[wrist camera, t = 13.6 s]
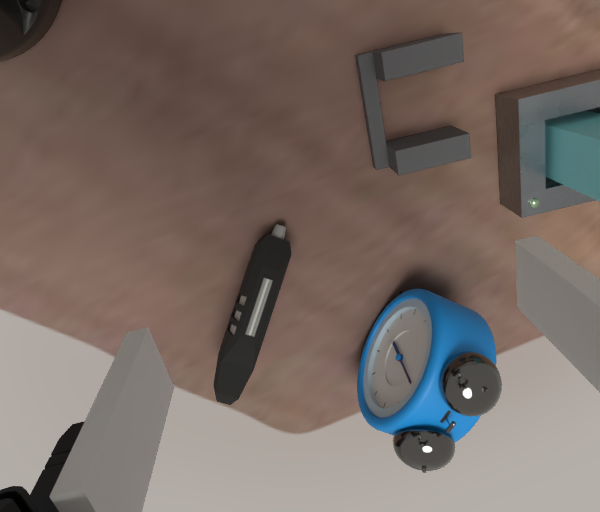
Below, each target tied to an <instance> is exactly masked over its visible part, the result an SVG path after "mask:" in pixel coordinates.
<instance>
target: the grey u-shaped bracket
mask: <svg viewBox="0 0 600 512" xmlns="http://www.w3.org/2000/svg"><path fill="white" fill-rule="evenodd" d="M356 61H357V68H358V74H359V80H360V86H361V92H362V98H363V105H364V111H365V117H366V123H367V129H368V135H369V142H370V148H371V154H372V160H373V166H374V168H375V169H376V170H378V169H382V168H386V167H390V168H391V169H393V170H394V171H395V172H396V173H397V174H398V175H402V174H406V173H410V172H415V171H419V170H423V169H427V168H431V167H435V166H439V165H444V164H448V163H452V162H456V161H460V160H464V159H469V158H471V150H470V136H469V133H467V132H465V131H462V130H460V129H458V128H455V127H453V126H447V127H443V128H439V129H435V130H431V131H427V132H423V133H418V134H414V135H410V136H406V137H402V138H398V139H394V140H390V141H386V139H385V132H384V125H383V119H382V112H381V105H380V98H379V92H378V85H377V79H380V80H384V81H387V80H391V79H395V78H399V77H403V76H407V75H412V74H416V73H420V72H424V71H428V70H432V69H436V68H440V67H444V66H448V65H452V64H456V63H460V62H464V53H463V39H462V33H448V34H440V35H436V36H432V37H428V38H424V39H420V40H416V41H412V42H408V43H404V44H400V45H396V46H392V47H388V48H384V49H380V50H376V51H372V52H368V53H364V54H359V55H356Z"/></svg>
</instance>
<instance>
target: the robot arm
mask: <svg viewBox="0 0 600 512" xmlns="http://www.w3.org/2000/svg"><path fill="white" fill-rule="evenodd" d="M60 2H61V0H0V61H3V60H7V59H10V58H13V57H15V56H17V55H19V54H21V53H23V52H25V51H26V50H28V49H29V48H31V47H32V46H33V45H35V44H36V43H37V42H38V41H39V40H40V39H41V38H42V37H43V35H44V34H45V33H46V32H47V30H48V29H49V27H50V26H51V24H52V22H53V20H54V18H55V16H56V14H57V11H58V9H59V6H60ZM515 254H516V282H517V308H518V309H519V310H520V311H521V312H522V313H523V314H524V315H525V316H526V317H527V318H528V319H529V320H530V321H531V322H532V323H533V324H534V325H535V326H536V327H537V328H538V329H539V330H540V331H541V332H542V334H543V335H544V336H546V338H547V339H548V340H549V341H551V343H552V344H553V345H554V346H555V347H556V348H557V349H558V350H559V351H560V352H561V353H562V354H563V355H564V356H565V357H566V358H567V359H568V360H569V361H570V362H571V363H572V364H573V365H574V366H575V367H576V368H577V369H578V370H579V371H580V372H581V374H582V375H583V376H585V378H586V379H587V380H588V381H589V382H590V383H591V384H592V385H593V386H594V387H595V388H596V389H597V390H598V391H599V392H600V279H599V278H598V277H596V276H595V275H593V274H592V273H590V272H589V271H587V270H586V269H585V268H583V267H582V266H580V265H579V264H577V263H576V262H574V261H573V260H572V259H570V258H569V257H567V256H566V255H564V254H563V253H561V252H560V251H559V250H557V249H556V248H554V247H553V246H551V245H550V244H548V243H547V242H546V241H544V240H543V239H541V238H540V237H538V236H533V237H529V238H524V239H520V240H516V241H515ZM173 389H174V386H173V384H172V382H171V379H170V377H169V375H168V372H167V370H166V368H165V365H164V363H163V361H162V358H161V356H160V354H159V351H158V349H157V347H156V345H155V342H154V340H153V338H152V335H151V333H150V331H149V328H148V327H147V328H142V329H138V330H134V331H130V332H127V333H126V335H125V338H124V340H123V342H122V344H121V346H120V348H119V350H118V352H117V354H116V357H115V359H114V361H113V363H112V365H111V367H110V369H109V372H108V374H107V376H106V378H105V380H104V382H103V384H102V386H101V388H100V391H99V393H98V395H97V397H96V399H95V401H94V403H93V405H92V407H91V409H90V412H89V414H88V416H87V418H86V420H85V422H80V423H76V424H73V425H72V426H71V427H70V428H69V429H68V430H67V431H66V432H65V433H64V435H62V436H61V438H60V439H59V440H58V442H57V444H56V446H55V448H54V450H53V452H52V454H51V455H52V456H51V457H50V458H49V460H48V462H47V464H46V465H45V470H43V471H42V473H41V475H40V477H39V479H38V481H37V483H36V485H35V487H34V489H33V490H32V492H31V494H30V495H29V494H28V492H27V491H26V490H25V489H24V488H23V487H20V486H12V487H8V488H5V489H2V490H0V512H142V509H143V505H144V501H145V497H146V494H147V490H148V486H149V481H150V478H151V474H152V470H153V466H154V463H155V458H156V455H157V451H158V447H159V443H160V439H161V436H162V432H163V428H164V424H165V420H166V416H167V412H168V408H169V405H170V401H171V397H172V393H173Z"/></svg>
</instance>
